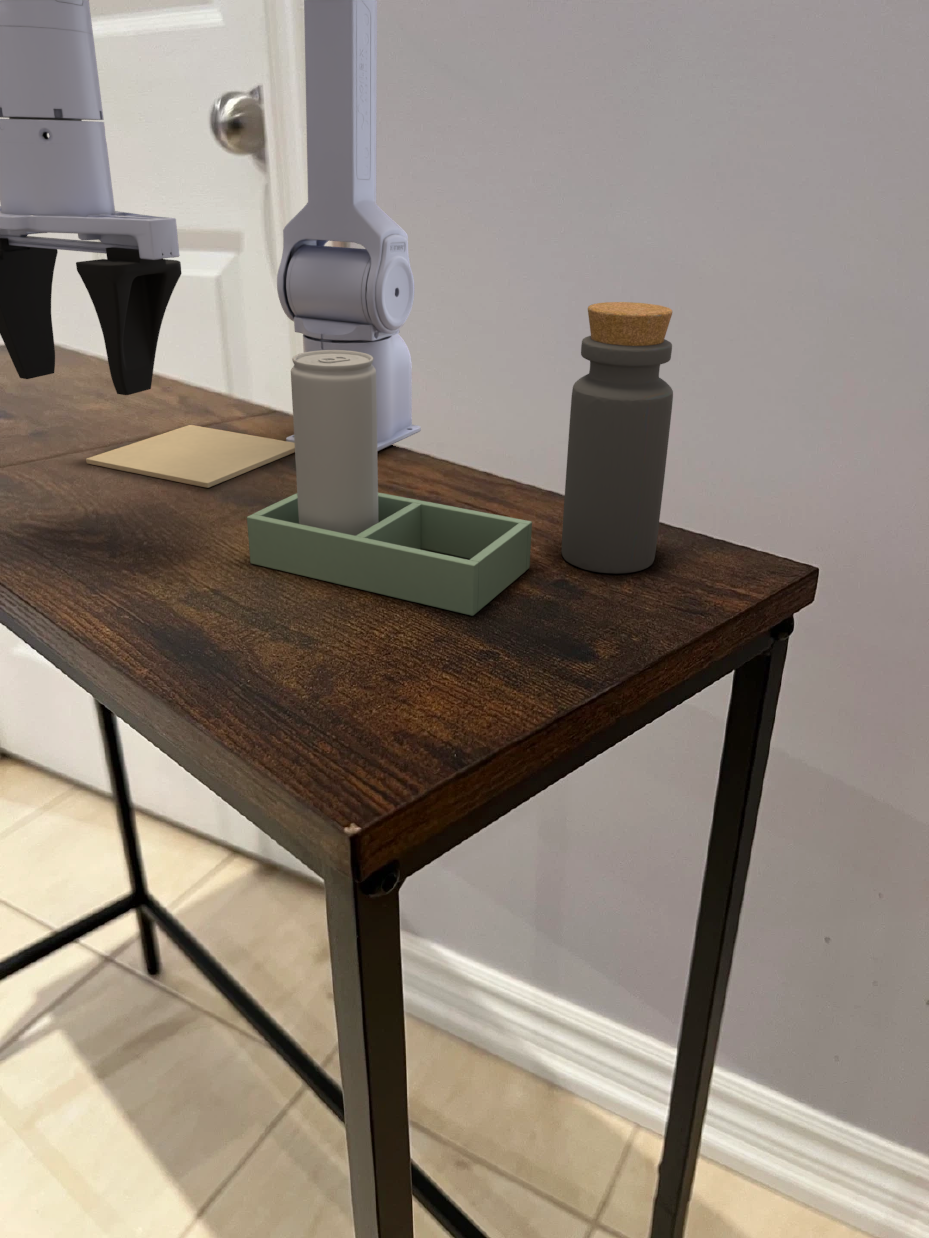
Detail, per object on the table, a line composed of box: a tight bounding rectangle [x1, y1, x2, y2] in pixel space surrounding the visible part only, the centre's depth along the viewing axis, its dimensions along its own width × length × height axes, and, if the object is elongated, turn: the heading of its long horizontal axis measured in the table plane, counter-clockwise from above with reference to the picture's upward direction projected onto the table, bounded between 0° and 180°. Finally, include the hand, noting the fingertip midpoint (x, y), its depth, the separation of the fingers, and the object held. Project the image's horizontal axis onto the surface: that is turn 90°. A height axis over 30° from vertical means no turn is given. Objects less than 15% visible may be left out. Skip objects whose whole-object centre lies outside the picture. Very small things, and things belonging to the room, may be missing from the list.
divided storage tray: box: [246, 492, 533, 617], centre depth 59 cm, size 8×15×3 cm, turn 63°
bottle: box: [561, 301, 674, 575], centre depth 58 cm, size 6×6×15 cm
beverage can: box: [290, 350, 379, 536], centre depth 58 cm, size 5×5×12 cm
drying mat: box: [85, 424, 295, 489], centre depth 79 cm, size 12×12×1 cm
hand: (84, 383), depth 57 cm, fingers open, 7 cm apart
